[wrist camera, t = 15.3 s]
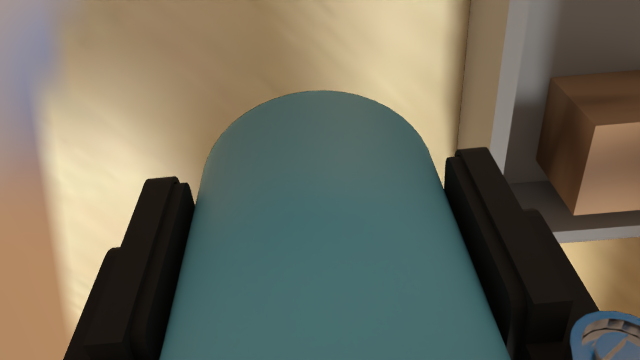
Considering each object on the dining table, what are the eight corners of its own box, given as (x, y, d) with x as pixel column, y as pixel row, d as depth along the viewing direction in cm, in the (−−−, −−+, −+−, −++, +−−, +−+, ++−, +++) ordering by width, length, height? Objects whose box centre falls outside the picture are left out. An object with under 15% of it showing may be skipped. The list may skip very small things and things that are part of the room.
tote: (680, 174, 32) (737, 229, 28) (452, 192, 32) (476, 249, 28) (816, -179, 22) (934, -174, 18) (484, -152, 22) (528, -141, 18)
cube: (624, 152, 31) (675, 206, 26) (535, 159, 31) (573, 215, 27) (648, 68, 28) (711, 116, 24) (550, 77, 28) (595, 125, 24)
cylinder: (431, 269, 13) (541, 633, 7) (225, 289, 13) (175, 664, 7) (440, 77, 10) (629, 431, 5) (176, 103, 10) (34, 484, 5)
